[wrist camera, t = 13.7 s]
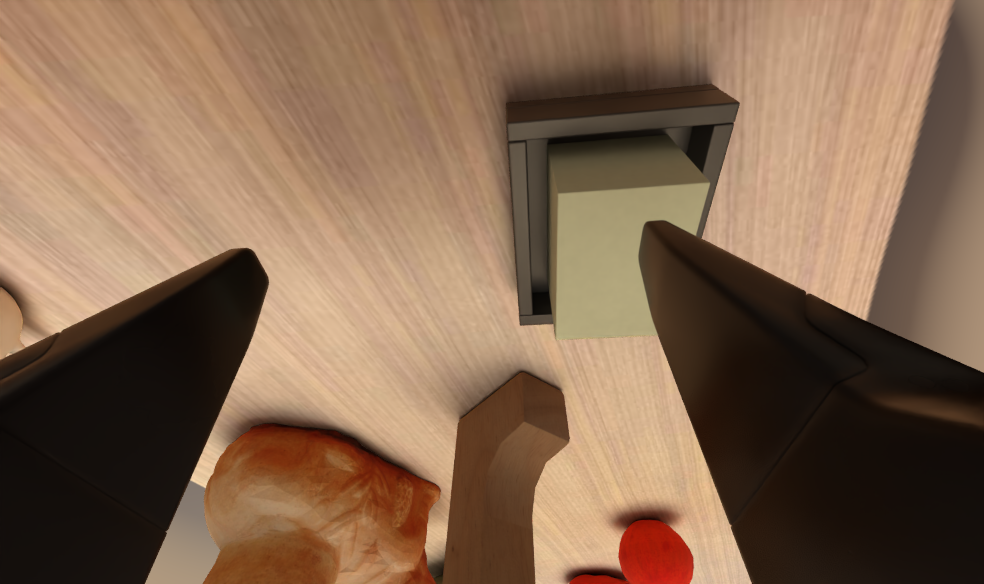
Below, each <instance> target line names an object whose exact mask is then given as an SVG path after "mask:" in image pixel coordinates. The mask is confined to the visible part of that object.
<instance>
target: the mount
mask: <svg viewBox="0 0 984 584" xmlns="http://www.w3.org/2000/svg"><path fill="white" fill-rule="evenodd" d="M739 104H740V103H739V102H738V101H737V100H735V99H734V98H732V97H730V96H729V95H727V94H726V93H724V92H723V91H721V90H719V88H717V87H716V86H714V85H713V84H709V85H698V86H687V87H676V88H665V89H654V90H644V91H633V92H622V93H611V94H600V95H589V96H578V97H567V98H556V99H545V100H534V101H524V102H513V103H506V128H507V140H508V157H509V172H510V187H511V202H512V217H513V231H514V246H515V261H516V276H517V291H518V306H519V321H520V325H542V324H553V317H552V309H551V301H550V294H549V286H548V279H547V145H548V144H560V143H572V142H584V141H596V140H608V139H620V138H633V137H645V136H657V135H669V136H670V138H671V139H672V140H673V141H674V142H675V143H676V144H677V145H678V147H679V148H680V149H681V150H682V151H683V152H684V153H685V154H686V156H687V157H688V158H689V159H690V160H691V161H692V162H693V164H694V165H695V166H696V167H697V168H698V169H699V170H700V171H701V173H702V174H703V175H704V176H705V177H706V178H707V179H708V180H709V182H710V186H709V189H708V193H707V197H706V200H705V204H704V208H703V211H702V215H701V219H700V222H699V226H698V230H697V233H696V236H697V237H699V238H702V235H703V231H704V228H705V224H706V221H707V217H708V214H709V210H710V207H711V203H712V200H713V196H714V193H715V189H716V186H717V182H718V179H719V175H720V172H721V168H722V165H723V161H724V158H725V154H726V151H727V147H728V144H729V140H730V137H731V133H732V130H733V126H734V122H735V119H736V115H737V112H738V108H739Z"/></svg>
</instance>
